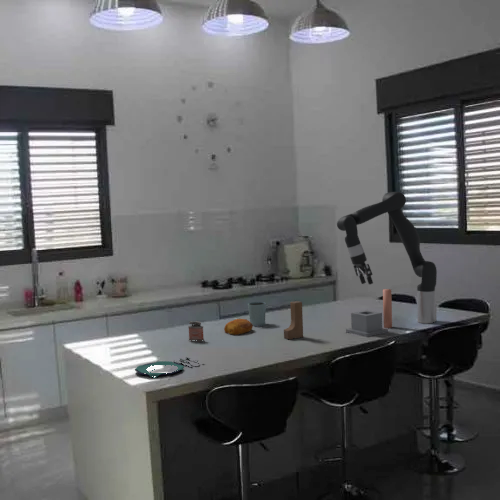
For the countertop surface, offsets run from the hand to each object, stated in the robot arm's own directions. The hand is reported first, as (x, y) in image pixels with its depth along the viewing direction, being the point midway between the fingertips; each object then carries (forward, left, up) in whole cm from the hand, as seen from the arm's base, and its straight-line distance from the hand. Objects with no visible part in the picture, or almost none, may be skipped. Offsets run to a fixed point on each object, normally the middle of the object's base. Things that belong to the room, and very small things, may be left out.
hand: (367, 283), depth 324 cm
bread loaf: (+49, -49, -26) cm, 73 cm away
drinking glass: (+31, -57, -25) cm, 69 cm away
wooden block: (+36, -17, -25) cm, 47 cm away
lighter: (+76, -46, -25) cm, 92 cm away
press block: (+1, -1, -25) cm, 25 cm away
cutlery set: (+110, -7, -26) cm, 113 cm away
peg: (-15, -2, -25) cm, 30 cm away
